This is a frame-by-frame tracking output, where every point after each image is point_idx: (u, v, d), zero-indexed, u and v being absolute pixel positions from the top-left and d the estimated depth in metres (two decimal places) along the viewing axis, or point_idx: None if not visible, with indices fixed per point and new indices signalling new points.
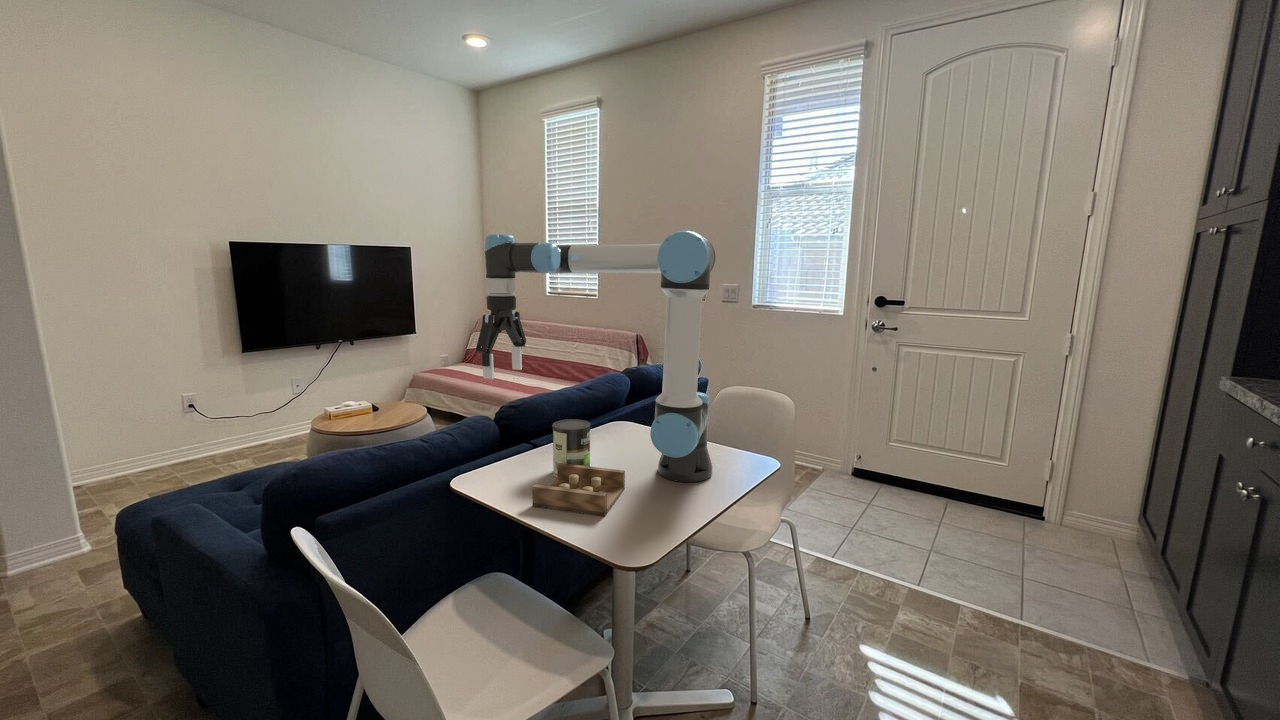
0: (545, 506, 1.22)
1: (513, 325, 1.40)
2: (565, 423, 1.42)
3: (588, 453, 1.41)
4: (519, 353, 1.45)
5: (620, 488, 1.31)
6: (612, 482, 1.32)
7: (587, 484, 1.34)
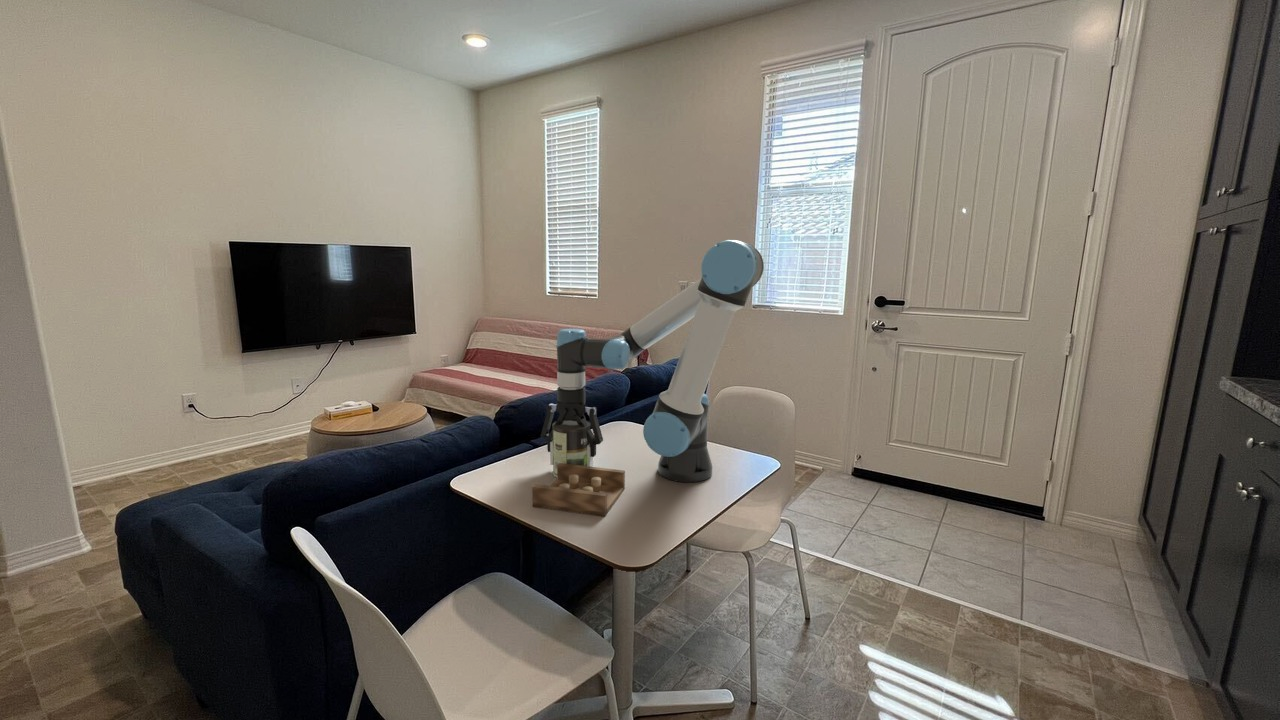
0: (545, 506, 1.22)
1: (577, 419, 1.38)
2: (564, 422, 1.42)
3: None
4: (587, 452, 1.40)
5: (620, 488, 1.31)
6: (612, 482, 1.32)
7: (587, 484, 1.34)
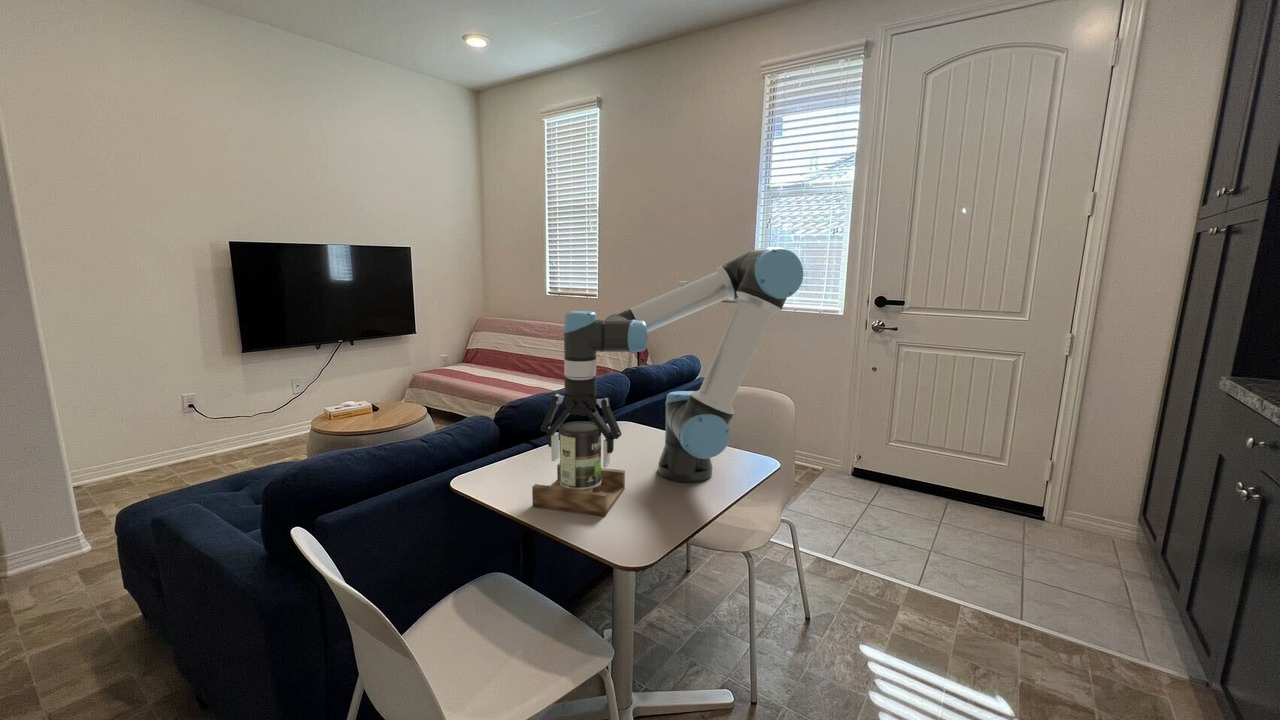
0: (545, 506, 1.22)
1: (589, 413, 1.22)
2: (573, 425, 1.26)
3: (599, 460, 1.25)
4: None
5: (620, 488, 1.31)
6: (612, 482, 1.32)
7: None
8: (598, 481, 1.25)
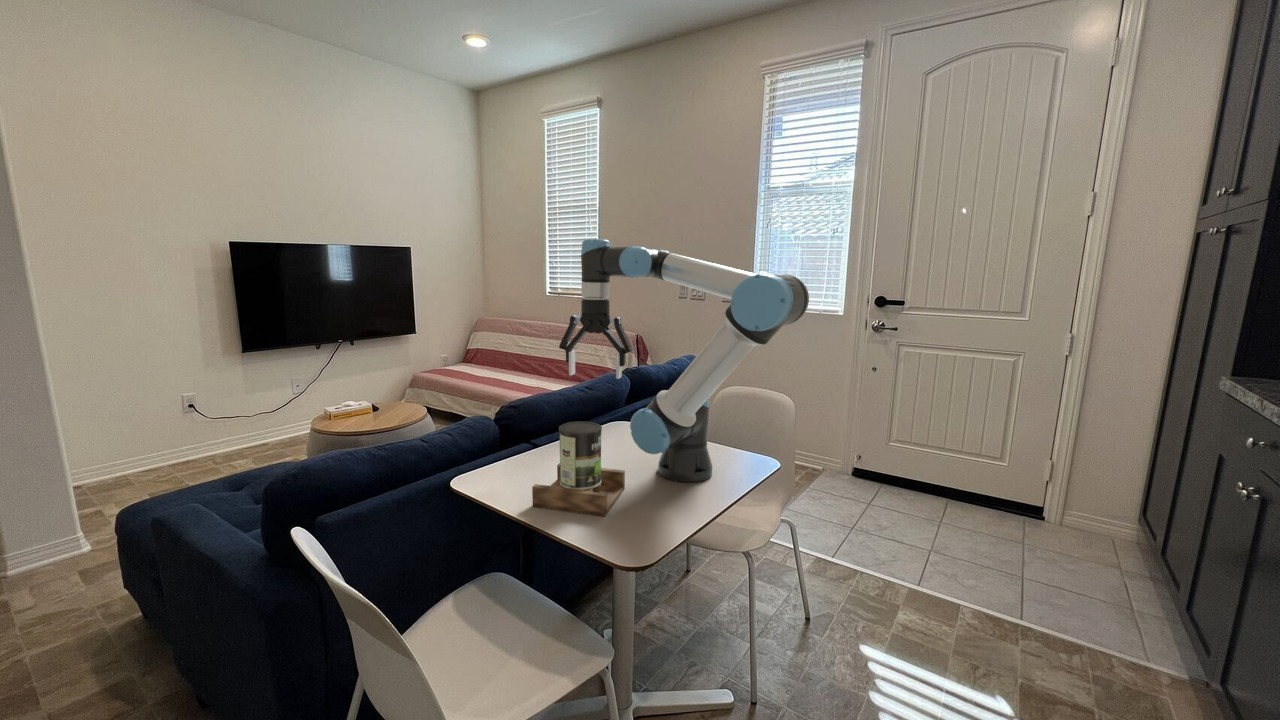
0: (545, 506, 1.22)
1: (603, 330, 1.38)
2: (573, 425, 1.26)
3: (599, 460, 1.25)
4: None
5: (620, 488, 1.31)
6: (612, 482, 1.32)
7: None
8: (598, 481, 1.25)
